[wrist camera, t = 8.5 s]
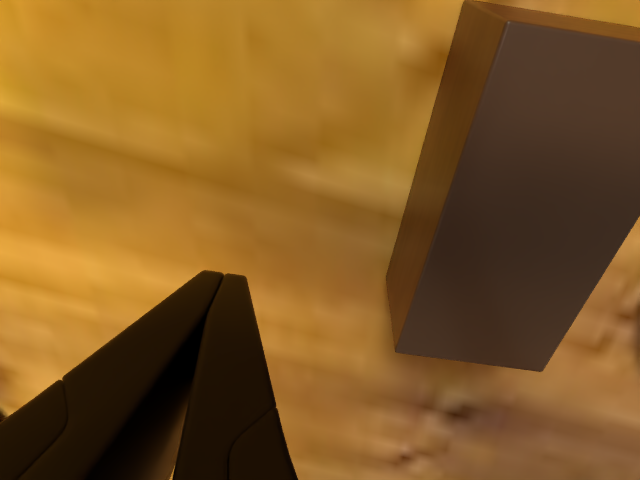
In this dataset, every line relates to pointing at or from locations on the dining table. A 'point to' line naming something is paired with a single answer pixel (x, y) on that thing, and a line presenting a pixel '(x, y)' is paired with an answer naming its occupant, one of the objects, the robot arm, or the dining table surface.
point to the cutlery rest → (518, 186)
